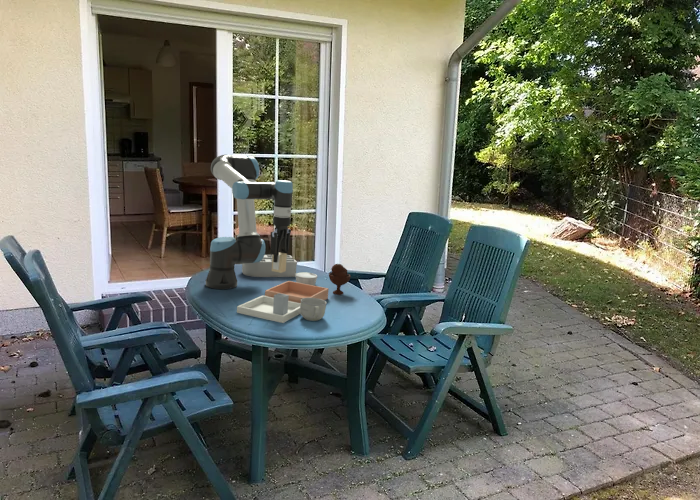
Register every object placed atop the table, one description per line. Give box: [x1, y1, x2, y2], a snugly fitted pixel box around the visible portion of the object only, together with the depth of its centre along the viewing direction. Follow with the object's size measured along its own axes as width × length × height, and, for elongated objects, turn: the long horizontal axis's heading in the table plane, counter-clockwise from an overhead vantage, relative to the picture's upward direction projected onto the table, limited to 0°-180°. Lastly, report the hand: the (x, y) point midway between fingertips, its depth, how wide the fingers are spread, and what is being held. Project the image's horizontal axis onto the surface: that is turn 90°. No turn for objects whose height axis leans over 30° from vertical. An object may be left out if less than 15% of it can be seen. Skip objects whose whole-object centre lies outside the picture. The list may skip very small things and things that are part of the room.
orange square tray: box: [264, 280, 330, 303], centre depth 250 cm, size 22×22×5 cm
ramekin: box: [295, 271, 318, 286], centre depth 278 cm, size 11×11×5 cm
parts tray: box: [236, 295, 301, 324], centre depth 230 cm, size 22×20×3 cm
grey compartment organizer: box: [241, 254, 298, 278], centre depth 294 cm, size 17×28×9 cm, turn 109°
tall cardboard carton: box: [272, 251, 288, 273], centre depth 239 cm, size 5×4×8 cm
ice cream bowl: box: [328, 263, 352, 296], centre depth 266 cm, size 11×11×15 cm
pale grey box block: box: [273, 293, 289, 315], centre depth 228 cm, size 5×4×8 cm
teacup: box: [299, 298, 328, 322], centre depth 224 cm, size 14×11×8 cm
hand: (278, 268), depth 240 cm, fingers closed on tall cardboard carton, 4 cm apart
